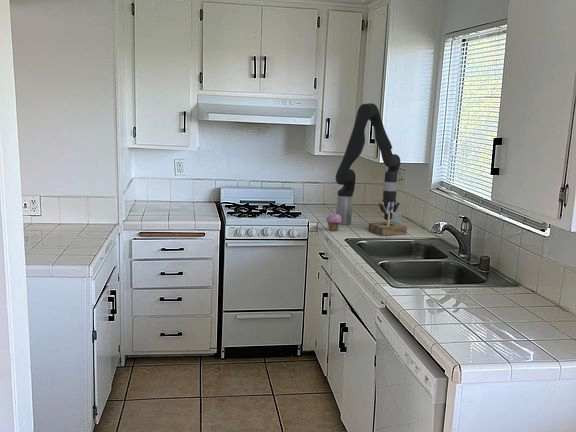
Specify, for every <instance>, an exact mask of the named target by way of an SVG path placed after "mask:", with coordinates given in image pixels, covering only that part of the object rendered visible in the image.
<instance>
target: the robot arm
mask: <svg viewBox="0 0 576 432" xmlns="http://www.w3.org/2000/svg"><path fill="white" fill-rule="evenodd" d="M368 121H370V123H371V125H372V127H373V130H374V131H373V132H374V138H375V143H376V144H377V145H376V146H378V148H379V151H380V154H381V158H382V161H383V164H384V165H385V167H387V170H386V171H385V173H384V183H383V190H382V198H383V199H382V201H381V202H378V206H379V209H380V211H381V213H383V214H384V216H383V219H384V220H386V221H387V220H388V210H389V209H388V207H389V205H390V202H392V206H393V209H390V220H391V219H392V213H393V212H397V209H398V208H399V206H400V202H398V201H397V191H398V174H399V170H400V166H401V157H400V155H398V154H396V153H394V154H393V152H392V149H393V145H392V143H391V140H390V139H389V136H388V134H387V133H386V130H385V126H384V124H383V121H382V118H381V113H380V111H379V108H378V106H377V105H376V104H375V103H370V102H369V103H362V104H361V105H359V107H358V109H357V112H356V116H355V121H354V124H353V127H352V131H351V134H350V137H349V140H348V142H347V145H346V149H345V152H344V154H343V158H342V160H341V163H340V165H339V167H338V169H337V170H336V174H335V182H336V184H337V185H340V186H342V187H341V188H340V189H338V190H337V196H336V197H337V198H336V200H337V202H336V209H335V211H336V212H335V214H339V215H340V216H341V218H342V221H341V223H340V225H343V226H346V225H347V226H348V225H351V224H352V215H353V214H352V213H353V199H354V198H353V197H354V192H355V187H356V186H355V185H356V180H357V179H356V172H355V170H353V169H352V168H351V167H352V165H353V164H354V162H355V161H356V160H358V158H359V157H360V156H361V154H362V153H363V149H364V146H365V143H366V135H365V131H366V126H367V125H368ZM385 207H387V208H385Z"/></svg>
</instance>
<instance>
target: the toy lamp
mask: <svg viewBox="0 0 576 432" xmlns="http://www.w3.org/2000/svg"><path fill="white" fill-rule="evenodd" d="M385 208H387V207H385ZM388 209H389V210H388V220H386V222H387V226H390V225H389V224H390V222H389V221H390V209H393V206H392V202H390V205H389V207H388Z"/></svg>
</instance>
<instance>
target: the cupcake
mask: <svg viewBox="0 0 576 432" xmlns="http://www.w3.org/2000/svg"><path fill="white" fill-rule="evenodd" d="M325 221H326V222H327V224H328V230H329V231H331V232H337V231H338V230H339V227H340V225H341V224H340V223H341V221H342V218H341V216H340V215H339V214H336V212H335V213H329V214H328V215H327V216H326V220H325Z"/></svg>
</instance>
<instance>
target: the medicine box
mask: <svg viewBox="0 0 576 432" xmlns="http://www.w3.org/2000/svg"><path fill="white" fill-rule="evenodd" d="M402 213H403V212H397V211H396V212H393V213H392V219H391V220H390V221H389V222H394V223H397V224H400V225H402V216H403V215H402Z"/></svg>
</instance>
